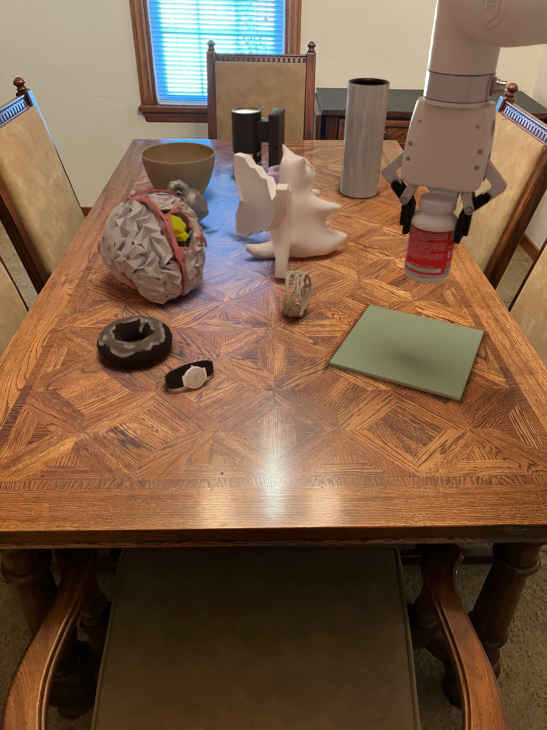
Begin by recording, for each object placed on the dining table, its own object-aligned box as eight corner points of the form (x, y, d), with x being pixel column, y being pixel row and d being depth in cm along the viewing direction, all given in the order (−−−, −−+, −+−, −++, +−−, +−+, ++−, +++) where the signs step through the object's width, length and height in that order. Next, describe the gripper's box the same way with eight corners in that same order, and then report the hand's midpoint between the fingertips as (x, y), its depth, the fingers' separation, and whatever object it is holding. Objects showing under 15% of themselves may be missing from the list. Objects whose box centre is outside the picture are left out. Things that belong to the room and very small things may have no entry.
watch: (174, 399, 82) (172, 378, 80) (159, 383, 85) (156, 363, 83) (220, 380, 85) (219, 360, 83) (204, 365, 89) (203, 345, 86)
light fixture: (237, 171, 168) (235, 105, 158) (284, 173, 166) (285, 107, 156) (229, 181, 160) (227, 113, 150) (278, 184, 158) (278, 115, 148)
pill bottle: (451, 286, 77) (467, 206, 71) (405, 284, 78) (417, 204, 71) (444, 266, 82) (459, 190, 76) (401, 264, 83) (412, 188, 76)
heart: (216, 233, 130) (211, 177, 124) (175, 238, 127) (168, 182, 122) (206, 224, 138) (200, 173, 133) (167, 229, 136) (160, 176, 130)
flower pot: (133, 206, 144) (126, 157, 137) (170, 184, 158) (165, 139, 151) (196, 216, 139) (192, 166, 132) (229, 193, 152) (227, 146, 145)
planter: (337, 197, 150) (345, 84, 135) (342, 184, 158) (350, 76, 143) (376, 200, 149) (388, 86, 133) (378, 187, 157) (391, 78, 141)
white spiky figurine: (365, 268, 116) (377, 161, 104) (268, 287, 109) (268, 175, 97) (312, 225, 135) (316, 130, 122) (226, 238, 128) (221, 140, 116)
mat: (483, 333, 96) (484, 330, 96) (459, 401, 82) (460, 398, 81) (369, 307, 103) (369, 304, 103) (328, 365, 89) (329, 362, 88)
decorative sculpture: (128, 336, 109) (156, 292, 92) (70, 244, 109) (87, 184, 92) (205, 298, 119) (243, 252, 102) (151, 214, 119) (180, 155, 102)
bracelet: (279, 323, 99) (279, 282, 94) (289, 301, 105) (290, 261, 100) (302, 326, 98) (303, 285, 93) (311, 304, 104) (313, 264, 99)
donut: (176, 367, 88) (174, 346, 86) (97, 377, 86) (92, 355, 84) (171, 328, 97) (169, 307, 95) (100, 336, 95) (95, 315, 93)
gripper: (540, 89, 66) (503, 236, 76) (393, 77, 72) (378, 216, 82) (533, 101, 60) (495, 258, 71) (375, 87, 66) (361, 234, 77)
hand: (432, 234), depth 76 cm, fingers closed on pill bottle, 6 cm apart
